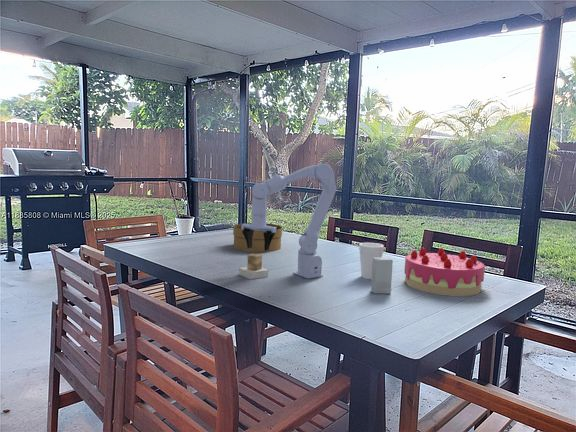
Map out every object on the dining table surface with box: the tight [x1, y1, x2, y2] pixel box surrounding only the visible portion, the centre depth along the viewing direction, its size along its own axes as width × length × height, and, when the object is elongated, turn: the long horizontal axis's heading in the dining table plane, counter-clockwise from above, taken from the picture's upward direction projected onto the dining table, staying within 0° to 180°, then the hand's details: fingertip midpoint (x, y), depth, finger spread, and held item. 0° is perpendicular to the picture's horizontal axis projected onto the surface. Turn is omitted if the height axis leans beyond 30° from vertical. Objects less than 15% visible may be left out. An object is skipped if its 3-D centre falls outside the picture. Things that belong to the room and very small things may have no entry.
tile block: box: [238, 266, 269, 280], centre depth 162 cm, size 8×8×3 cm
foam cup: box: [358, 242, 385, 280], centre depth 166 cm, size 10×9×13 cm
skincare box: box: [370, 257, 394, 295], centre depth 146 cm, size 6×4×12 cm
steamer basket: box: [232, 222, 283, 253], centre depth 216 cm, size 25×25×11 cm
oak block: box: [246, 253, 263, 271], centre depth 162 cm, size 4×4×6 cm
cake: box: [404, 247, 485, 297], centre depth 159 cm, size 28×28×12 cm
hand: (258, 249), depth 164 cm, fingers open, 7 cm apart
